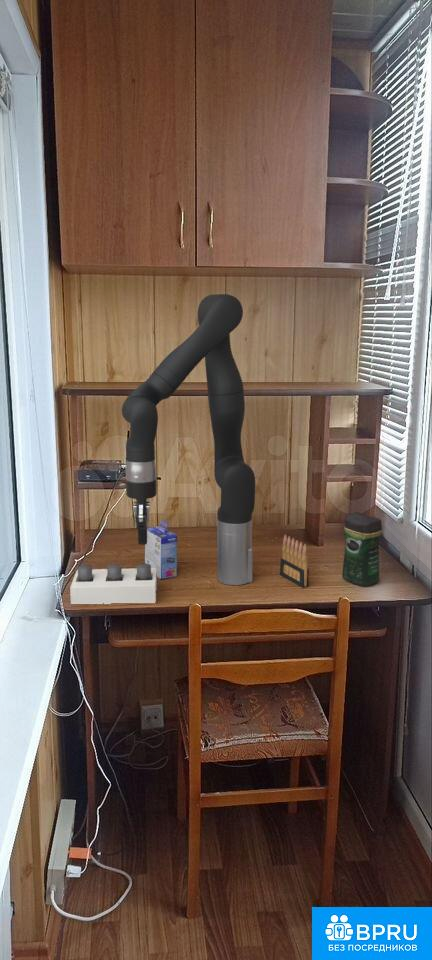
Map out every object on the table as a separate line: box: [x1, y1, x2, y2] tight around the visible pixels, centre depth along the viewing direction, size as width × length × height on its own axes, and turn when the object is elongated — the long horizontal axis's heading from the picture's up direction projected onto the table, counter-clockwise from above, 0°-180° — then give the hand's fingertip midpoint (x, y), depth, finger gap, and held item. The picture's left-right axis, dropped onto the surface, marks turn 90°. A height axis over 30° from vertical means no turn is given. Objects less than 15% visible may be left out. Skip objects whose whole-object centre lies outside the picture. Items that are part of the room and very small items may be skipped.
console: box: [69, 567, 158, 605], centre depth 181 cm, size 21×12×5 cm, turn 93°
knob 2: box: [136, 562, 151, 580], centre depth 181 cm, size 4×4×4 cm
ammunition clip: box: [279, 533, 310, 589], centre depth 190 cm, size 11×2×12 cm, turn 30°
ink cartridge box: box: [144, 520, 178, 580], centre depth 195 cm, size 10×6×14 cm, turn 33°
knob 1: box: [77, 564, 93, 582], centre depth 180 cm, size 4×4×4 cm
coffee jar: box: [342, 511, 383, 587], centre depth 189 cm, size 10×8×19 cm
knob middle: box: [106, 563, 123, 581], centre depth 181 cm, size 4×4×4 cm
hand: (142, 543), depth 179 cm, fingers closed
